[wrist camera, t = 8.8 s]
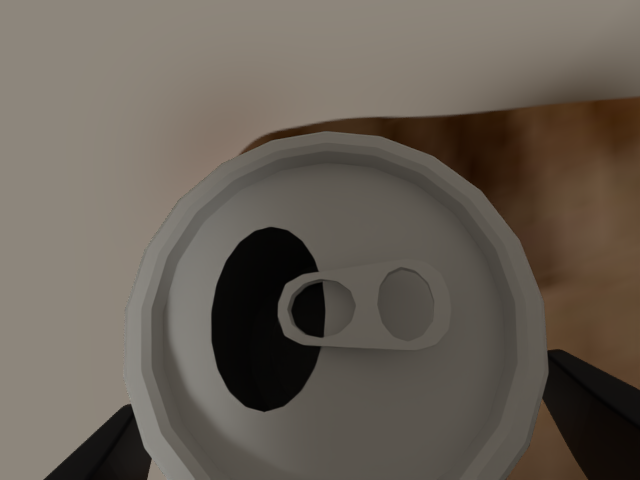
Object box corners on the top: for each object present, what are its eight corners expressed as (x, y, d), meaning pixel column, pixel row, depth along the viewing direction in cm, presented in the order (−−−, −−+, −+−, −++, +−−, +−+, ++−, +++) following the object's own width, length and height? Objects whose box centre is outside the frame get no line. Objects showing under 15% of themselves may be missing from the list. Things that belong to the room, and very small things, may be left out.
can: (257, 269, 18) (119, 101, 6) (407, 266, 17) (539, 83, 6) (249, 437, 15) (-7, 654, 4) (424, 436, 15) (708, 666, 4)
